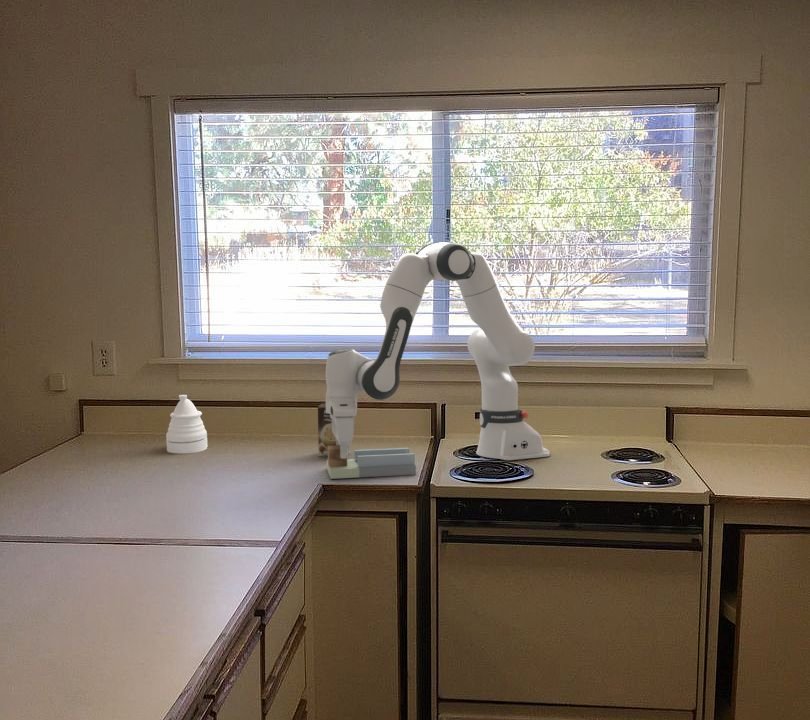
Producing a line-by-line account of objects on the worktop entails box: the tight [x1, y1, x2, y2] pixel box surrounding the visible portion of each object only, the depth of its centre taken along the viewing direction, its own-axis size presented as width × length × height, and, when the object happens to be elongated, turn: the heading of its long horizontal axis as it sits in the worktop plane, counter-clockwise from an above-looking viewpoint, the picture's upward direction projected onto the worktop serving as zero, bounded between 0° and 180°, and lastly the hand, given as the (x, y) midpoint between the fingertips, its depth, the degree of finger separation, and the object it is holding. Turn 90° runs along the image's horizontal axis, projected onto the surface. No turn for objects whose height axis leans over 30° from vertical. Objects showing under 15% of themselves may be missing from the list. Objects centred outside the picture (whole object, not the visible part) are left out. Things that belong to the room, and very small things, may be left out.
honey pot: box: [165, 394, 209, 455], centre depth 256 cm, size 13×13×18 cm
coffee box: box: [317, 403, 350, 457], centre depth 245 cm, size 9×6×16 cm
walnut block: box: [327, 445, 348, 467], centre depth 223 cm, size 5×5×5 cm
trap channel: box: [325, 447, 417, 480], centre depth 225 cm, size 24×12×6 cm, turn 101°
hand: (341, 454), depth 223 cm, fingers open, 8 cm apart
